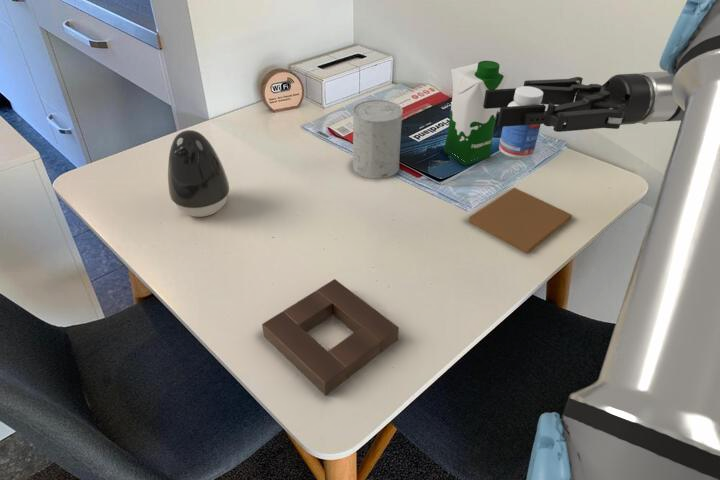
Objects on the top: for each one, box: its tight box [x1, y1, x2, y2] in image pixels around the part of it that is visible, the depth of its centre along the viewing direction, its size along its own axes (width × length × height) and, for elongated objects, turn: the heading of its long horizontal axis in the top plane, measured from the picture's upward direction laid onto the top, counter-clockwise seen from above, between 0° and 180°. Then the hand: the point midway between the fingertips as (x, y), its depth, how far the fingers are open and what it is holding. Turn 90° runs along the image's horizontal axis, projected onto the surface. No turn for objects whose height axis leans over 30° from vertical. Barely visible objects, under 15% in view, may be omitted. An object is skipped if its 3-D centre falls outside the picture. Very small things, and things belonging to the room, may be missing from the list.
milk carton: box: [443, 60, 509, 167], centre depth 105 cm, size 9×9×20 cm
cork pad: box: [468, 187, 573, 254], centre depth 92 cm, size 14×12×1 cm
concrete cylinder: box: [352, 99, 404, 180], centre depth 103 cm, size 10×10×12 cm
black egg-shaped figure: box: [167, 129, 230, 218], centre depth 90 cm, size 10×10×15 cm
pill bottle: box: [498, 85, 543, 159], centre depth 79 cm, size 6×5×10 cm
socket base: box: [261, 278, 400, 396], centre depth 70 cm, size 13×13×2 cm
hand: (492, 108), depth 77 cm, fingers closed on pill bottle, 5 cm apart
